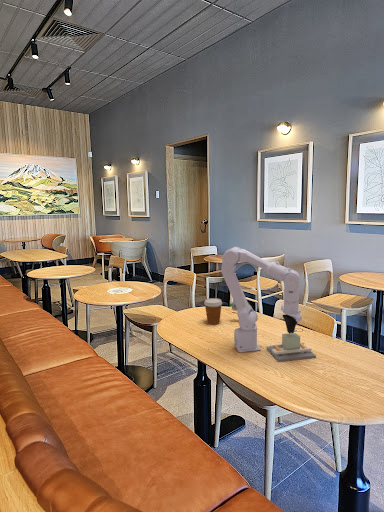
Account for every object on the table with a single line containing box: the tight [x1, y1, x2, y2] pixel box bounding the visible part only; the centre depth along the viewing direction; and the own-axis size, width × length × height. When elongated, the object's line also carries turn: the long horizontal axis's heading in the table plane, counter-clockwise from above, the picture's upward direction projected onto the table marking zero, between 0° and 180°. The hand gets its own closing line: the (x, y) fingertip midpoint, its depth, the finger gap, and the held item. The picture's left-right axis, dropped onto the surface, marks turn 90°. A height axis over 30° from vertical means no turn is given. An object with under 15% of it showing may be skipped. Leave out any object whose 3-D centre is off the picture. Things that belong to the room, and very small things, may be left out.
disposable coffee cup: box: [203, 297, 223, 326], centre depth 175 cm, size 10×10×12 cm
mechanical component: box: [229, 301, 251, 321], centre depth 176 cm, size 3×10×10 cm, turn 89°
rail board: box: [265, 341, 317, 363], centre depth 138 cm, size 16×12×3 cm
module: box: [281, 332, 301, 350], centre depth 138 cm, size 6×4×6 cm, turn 99°
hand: (290, 332), depth 137 cm, fingers closed
